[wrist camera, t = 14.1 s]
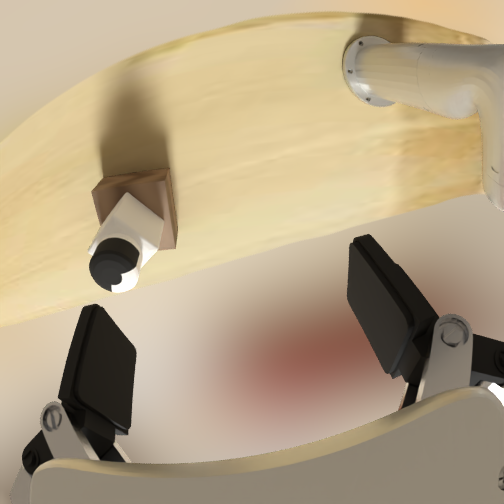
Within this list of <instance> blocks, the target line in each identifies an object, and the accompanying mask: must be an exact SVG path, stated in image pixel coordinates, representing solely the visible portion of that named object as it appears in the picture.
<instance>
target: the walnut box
mask: <svg viewBox="0 0 504 504" xmlns="http://www.w3.org/2000/svg"><path fill="white" fill-rule="evenodd" d="M127 192H128V193H130V194H131V195H132V196H133V197H135V198H136V199H137V200H138V201H140V202H141V203H142V204H143V205H145V206H146V207H147V208H149V209H150V210H151V211H152V212H154V213H155V214H156V215H158V216H159V217H160V218H161V219H163V220H164V226H163V231H162V235H161V240H160V245H159V249H158V250H168V249H176V242H177V234H178V227H177V221H176V214H175V207H174V200H173V193H172V185H171V177H170V169H169V168H165V169H157V170H149V171H142V172H135V173H129V174H122V175H116V176H111V177H105V178H103V179H102V180H101V181H100V182H99V183H98V184H97V186H96V187H95V188H94V189H93V190H92V196H93V200H94V204H95V208H96V211H97V215H98V219H99V222H100V225H102V224H103V222H104V221H105V219H106V218H107V217H108V215H109V214H110V213H111V211H112V210H113V209H114V207H115V206H116V205H117V203H118V202H119V201H120V199H121V198H122V197H123V195H124V194H125V193H127ZM158 250H157V251H158Z"/></svg>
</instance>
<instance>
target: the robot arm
mask: <svg viewBox="0 0 504 504" xmlns="http://www.w3.org/2000/svg"><path fill="white" fill-rule="evenodd" d="M348 70H349V72H348ZM343 73H344V77H345V80H346V82H347V85H348V87H349V88H350V90H351V91H352V93H353V94H354V95H355V96H356V97H357V98H358V99H360V100H361V101H362V102H364V103H366V104H368V105H372V106H376V107H387V106H391V105H392V104H394V103H396V102H397V103H400V104H404V105H408V106H411V107H415V108H418V109H422V110H425V111H428V112H431V113H434V114H437V115H441V116H444V117H446V118H450V119H464V118H467V117H470V116H472V115H473V114H475V113H477V112H479V118H480V127H481V137H482V183H483V188H484V191H485V194H486V196H487V197H488V199H489V200H490V201H491V203H492V204H493V205H495V206H496V207H497V208H498V209H499V210H501V211H503V212H504V44H488V45H464V44H444V43H390V42H389V41H387V40H385V39H383V38H381V37H377V36H365V37H361V38H358V39H356V40H355V41H353V42H352V43H351V44H350V45H349V46H348V48H347V49H346V51H345V54H344V58H343ZM366 98H367V99H366ZM347 299H348V302H349V304H350V306H351V308H352V310H353V312H354V314H355V315H356V317H357V319H358V321H359V323H360V325H361V327H362V329H363V330H364V332H365V334H366V336H367V338H368V340H369V342H370V344H371V346H372V348H373V350H374V351H375V353H376V356H377V357H378V360H379V362H380V363H381V366H382V368H383V370H384V371H385V373H387V374H388V373H390V375H391V377H392V379H394V378H396V377H398V376H400V375H402V376H403V378H404V380H405V382H406V385H405V390H404V393H403V396H402V400H401V403H400V406H399V409H398V411H396V412H394V413H392V414H390V415H388V416H385V417H383V418H380V419H378V420H375V421H373V422H371V423H368V424H365V425H363V426H360V427H357V428H355V429H352V430H349V431H347V432H344V433H341V434H338V435H335V436H332V437H329V438H325V439H322V440H319V441H316V442H312V443H308V444H305V445H301V446H298V447H293V448H289V449H285V450H280V451H276V452H271V453H266V454H261V455H256V456H249V457H243V458H236V459H229V460H221V461H211V462H198V463H179V464H140V463H132V462H131V460H130V459H129V458H128V456H127V455H126V454H125V452H124V451H123V450H122V448H121V447H120V445H119V444H118V443H117V441H116V440H115V434H117V435H128V429H129V428H130V427H131V415H132V397H133V385H134V374H135V364H136V349H135V347H134V345H133V344H132V343H131V342H130V341H129V340H128V338H127V337H126V336H125V335H124V334H123V332H122V331H121V330H120V329H119V327H118V326H117V325H116V324H115V322H114V321H113V320H112V318H111V317H110V316H109V315H108V313H107V312H106V311H105V309H104V308H103V307H100V306H99V305H98V304H93V305H88V306H84V307H83V309H82V311H81V314H80V317H79V320H78V323H77V326H76V329H75V332H74V336H73V339H72V342H71V346H70V349H69V353H68V357H67V360H66V364H65V369H64V373H63V377H62V381H61V385H60V390H59V395H58V398H59V399H60V400H61V401H62V403H61V404H60V403H58V402H55V401H54V402H50V403H49V404H47V405H46V406H45V407H44V409H43V411H42V413H41V417H40V424H41V428H42V430H41V431H40V432H39V433H38V434H37V435H36V436H35V437H34V438H33V439H32V440H31V442H30V443H29V444H28V445H27V446H26V447H25V449H24V451H23V454H22V461H23V466H24V467H23V466H21V469H20V471H19V473H18V475H17V478H16V480H15V482H14V484H13V487H12V489H11V493H10V499H11V502H12V504H504V342H501V341H498V340H494V339H491V338H487V337H484V336H480V335H476V334H473V333H472V329H471V327H470V325H469V323H468V322H467V321H466V320H465V319H464V318H463V317H461V316H459V315H456V314H447V315H443V316H442V317H440V318H439V316H438V315H437V314H436V312H435V311H434V309H433V308H432V307H431V305H430V304H429V303H428V301H427V300H426V298H425V297H424V296H423V294H422V293H421V292H420V291H419V289H418V288H417V287H416V285H415V284H414V283H413V282H412V280H411V279H410V278H409V277H408V275H407V274H406V273H405V272H404V270H403V269H402V268H401V267H400V266H399V265H398V264H396V263H394V262H393V260H392V259H391V258H390V257H389V256H388V254H387V253H386V252H385V251H384V250H383V248H382V247H381V246H380V245H379V244H378V243H377V242H376V241H375V239H374V238H373V237H372V236H371V235H370V234H367V235H363V236H360V237H356V238H354V240H353V243H350V247H349V270H348V288H347Z"/></svg>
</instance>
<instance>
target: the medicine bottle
mask: <svg viewBox="0 0 504 504" xmlns="http://www.w3.org/2000/svg"><path fill="white" fill-rule="evenodd" d="M163 226H164V220H163V219H161V218H160V217H159V216H158V215H156V214H155V213H154V212H152V211H151V210H150V209H149V208H147V207H146V206H145V205H143V204H142V203H141V202H140V201H138V200H137V199H136V198H135V197H133V196H132V195H131V194H130V193H128V192H127V193H125V194H124V195H123V197H122V198H121V199H120V201H119V202H118V203H117V205H116V206H115V207H114V209H113V210H112V211H111V213H110V214H109V215H108V217H107V218H106V219H105V221H104V222H103V224H102V225H101V227H100V229H99V230H98V232H97V234H96V236H95V238H94V240H93V241H92V243H91V245H90V247H89V249H88V253H89V254H91V255H92V258H91V260H90V264H89V270H90V273H91V276H92V277H93V279H94V280H95V282H96V283H97V284H98V285H99V286H101V287H102V288H104V289H106V290H108V291H111V292H125V291H128V290H130V289H132V288H133V287H134V286H135V285H136V283H137V281H138V278H139V273H140V269H141V267H142V266H143V265H144V264H145V263H146V262H147V261H148V260H149V259H150V258H151V257H152V256H153V254H154V253H155V252H156V251H157V250H158V249H159V245H160V240H161V235H162V231H163Z"/></svg>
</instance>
